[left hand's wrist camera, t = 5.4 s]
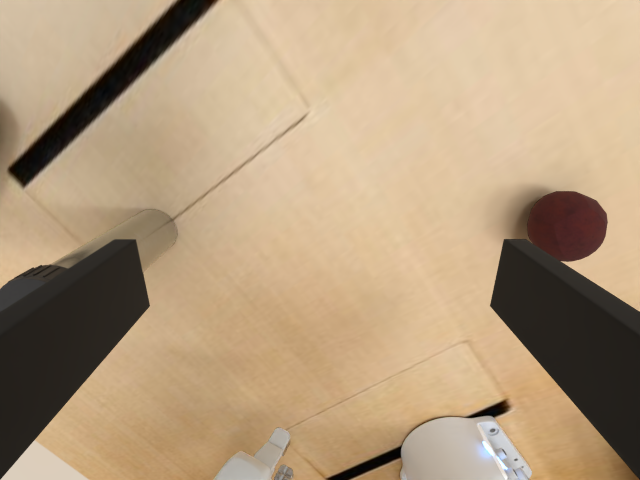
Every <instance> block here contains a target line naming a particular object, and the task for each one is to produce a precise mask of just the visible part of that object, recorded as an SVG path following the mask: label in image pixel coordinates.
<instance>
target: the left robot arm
mask: <svg viewBox="0 0 640 480" xmlns="http://www.w3.org/2000/svg"><path fill="white" fill-rule="evenodd" d="M149 306H150V304H149V299H148V295H147V290H146V285H145V280H144V275H143V271H142V266H141V261H140V256H139V251H138V246H137V242H136V239H114V240H112V241H111V242H109V243H108V244H106V245H105V246H103V247H101V248H100V249H98V250H97V251H95V252H94V253H92V254H90V255H89V256H87V257H86V258H84V259H83V260H81V261H79V262H78V263H76V264H75V265H73V266H72V267H70V268H68V269H67V270H65V271H64V272H62V273H61V274H59V275H57V276H56V277H54V278H53V279H51V280H50V281H48V282H46V283H45V284H43V285H42V286H40V287H39V288H37V289H35V290H34V291H32V292H31V293H29V294H28V295H26V296H24V297H23V298H21V299H20V300H18V301H17V302H15V303H13V304H12V305H10V306H9V307H7V308H6V309H4V310H2V311H1V312H0V479H1V478H2V477H3V476H4V475H5V474H6V472H7V471H8V470H9V469H10V468H11V467H12V465H13V464H14V463H15V462H16V461H17V460H18V458H19V457H20V456H21V455H22V454H23V453H24V451H25V450H26V449H27V448H28V447H29V446H30V444H31V443H32V442H33V441H34V440H35V439H36V438H37V436H38V435H39V434H40V433H41V432H42V431H43V429H44V428H45V427H46V426H47V425H48V424H49V422H50V421H51V420H52V419H53V418H54V417H55V415H56V414H57V413H58V412H59V411H60V410H61V409H62V407H63V406H64V405H65V404H66V403H67V402H68V400H69V399H70V398H71V397H72V396H73V395H74V393H75V392H76V391H77V390H78V389H79V388H80V386H81V385H82V384H83V383H84V382H85V381H86V379H87V378H88V377H89V376H90V375H91V374H92V373H93V371H94V370H95V369H96V368H97V367H98V366H99V364H100V363H101V362H102V361H103V360H104V359H105V357H106V356H107V355H108V354H109V353H110V352H111V350H112V349H113V348H114V347H115V346H116V345H117V344H118V342H119V341H120V340H121V339H122V338H123V337H124V335H125V334H126V333H127V332H128V331H129V330H130V328H131V327H132V326H133V325H134V324H135V323H136V321H137V320H138V319H139V318H140V317H141V316H142V314H143V313H144V312H145V311H146V310H147V309H148V308H149ZM490 306H491V308H492V309H493V310H494V311H495V312H496V313H497V314H498V316H499V317H500V318H501V319H502V320H503V321H504V323H505V324H506V325H507V326H508V327H509V328H510V330H511V331H512V332H513V333H514V334H515V335H516V337H517V338H518V339H519V340H520V341H521V342H522V344H523V345H524V346H525V347H526V348H527V349H528V350H529V352H530V353H531V354H532V355H533V356H534V357H535V359H536V360H537V361H538V362H539V363H540V364H541V366H542V367H543V368H544V369H545V370H546V371H547V373H548V374H549V375H550V376H551V377H552V378H553V379H554V381H555V382H556V383H557V384H558V385H559V386H560V388H561V389H562V390H563V391H564V392H565V393H566V395H567V396H568V397H569V398H570V399H571V400H572V402H573V403H574V404H575V405H576V406H577V407H578V409H579V410H580V411H581V412H582V413H583V414H584V415H585V417H586V418H587V419H588V420H589V421H590V422H591V424H592V425H593V426H594V427H595V428H596V429H597V431H598V432H599V433H600V434H601V435H602V436H603V438H604V439H605V440H606V441H607V442H608V443H609V444H610V446H611V447H612V448H613V449H614V450H615V451H616V453H617V454H618V455H619V456H620V457H621V458H622V460H623V461H624V462H625V463H626V464H627V465H628V467H629V468H630V469H631V470H632V471H633V472H634V474H635V475H636V476H637V477H638V478H639V479H640V312H639V311H638V310H636V309H634V308H633V307H631V306H630V305H628V304H627V303H625V302H623V301H622V300H620V299H619V298H617V297H616V296H614V295H612V294H611V293H609V292H608V291H606V290H605V289H603V288H601V287H600V286H598V285H597V284H595V283H594V282H592V281H590V280H589V279H587V278H586V277H584V276H583V275H581V274H579V273H578V272H576V271H575V270H573V269H572V268H570V267H568V266H567V265H565V264H564V263H562V262H561V261H559V260H557V259H556V258H554V257H553V256H551V255H550V254H548V253H546V252H545V251H543V250H542V249H540V248H539V247H537V246H535V245H534V244H532V243H531V242H529V241H528V240H526V239H504V242H503V246H502V251H501V256H500V261H499V266H498V271H497V275H496V280H495V285H494V290H493V295H492V299H491V304H490Z"/></svg>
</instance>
